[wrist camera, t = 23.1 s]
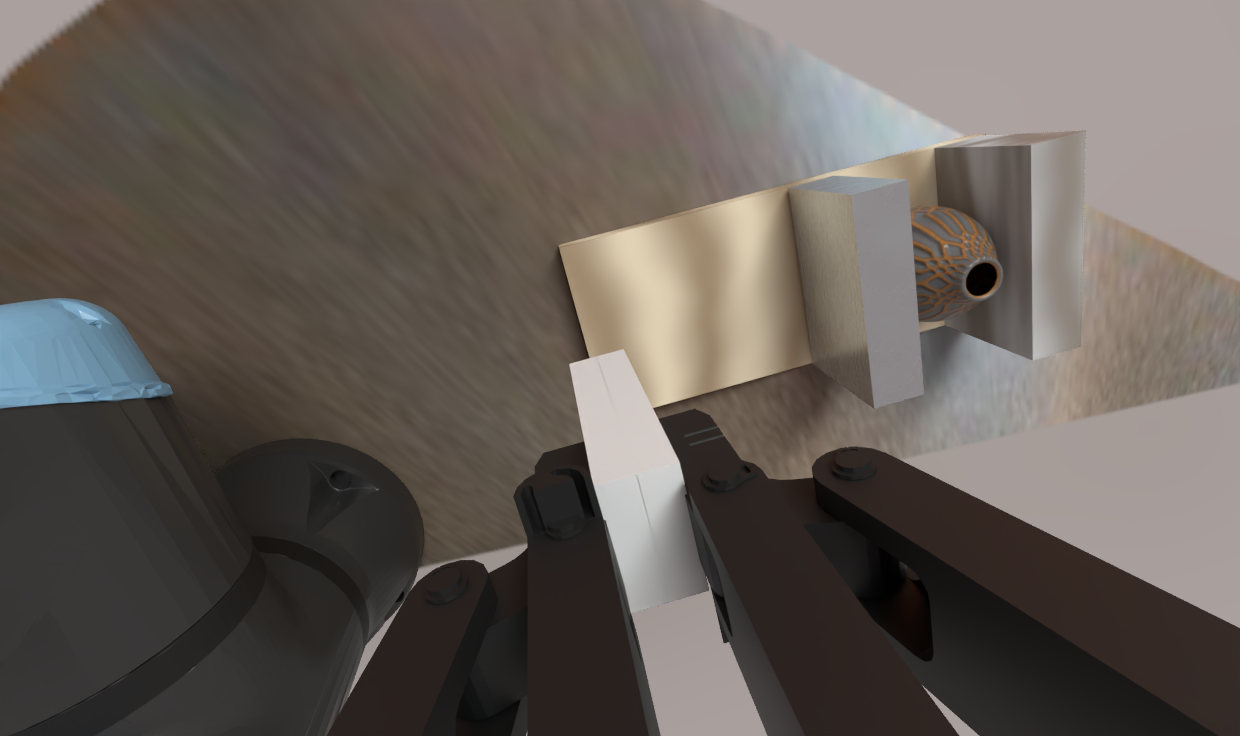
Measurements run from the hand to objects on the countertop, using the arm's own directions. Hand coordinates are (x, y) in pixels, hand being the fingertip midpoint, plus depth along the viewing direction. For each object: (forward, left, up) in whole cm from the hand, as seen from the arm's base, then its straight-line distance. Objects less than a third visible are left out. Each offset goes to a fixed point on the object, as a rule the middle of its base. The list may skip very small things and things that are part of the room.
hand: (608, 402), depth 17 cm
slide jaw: (+16, -5, -23) cm, 28 cm away
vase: (+21, -5, -23) cm, 32 cm away
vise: (+14, -5, -24) cm, 28 cm away
